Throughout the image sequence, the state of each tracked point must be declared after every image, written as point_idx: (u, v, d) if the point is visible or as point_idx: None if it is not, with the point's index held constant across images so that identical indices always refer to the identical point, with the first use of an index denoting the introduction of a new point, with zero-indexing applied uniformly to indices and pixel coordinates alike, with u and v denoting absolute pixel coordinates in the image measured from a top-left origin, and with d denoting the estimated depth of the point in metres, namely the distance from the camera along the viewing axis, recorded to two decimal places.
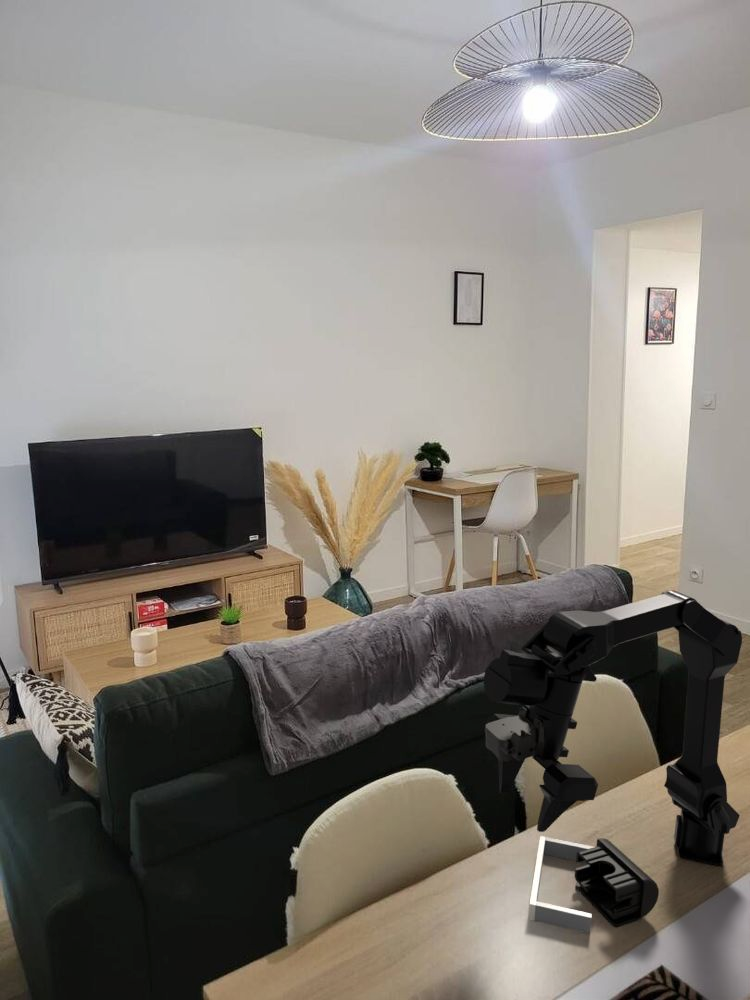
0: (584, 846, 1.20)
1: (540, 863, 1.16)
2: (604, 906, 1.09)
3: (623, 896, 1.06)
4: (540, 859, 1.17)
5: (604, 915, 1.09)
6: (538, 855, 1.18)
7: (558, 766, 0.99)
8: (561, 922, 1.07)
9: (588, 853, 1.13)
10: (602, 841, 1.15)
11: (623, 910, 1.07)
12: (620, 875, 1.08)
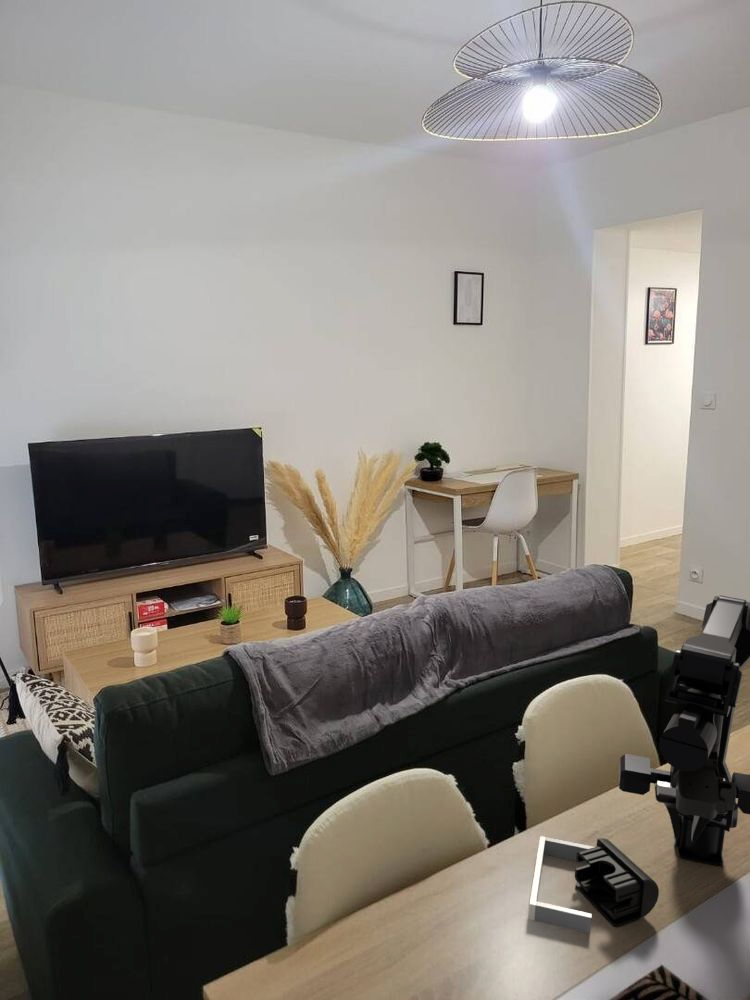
0: (584, 846, 1.20)
1: (540, 863, 1.16)
2: (604, 906, 1.09)
3: (623, 896, 1.06)
4: (540, 859, 1.17)
5: (604, 915, 1.09)
6: (538, 855, 1.18)
7: (743, 788, 1.02)
8: (561, 922, 1.07)
9: (588, 853, 1.13)
10: (602, 841, 1.15)
11: (623, 910, 1.07)
12: (620, 875, 1.08)
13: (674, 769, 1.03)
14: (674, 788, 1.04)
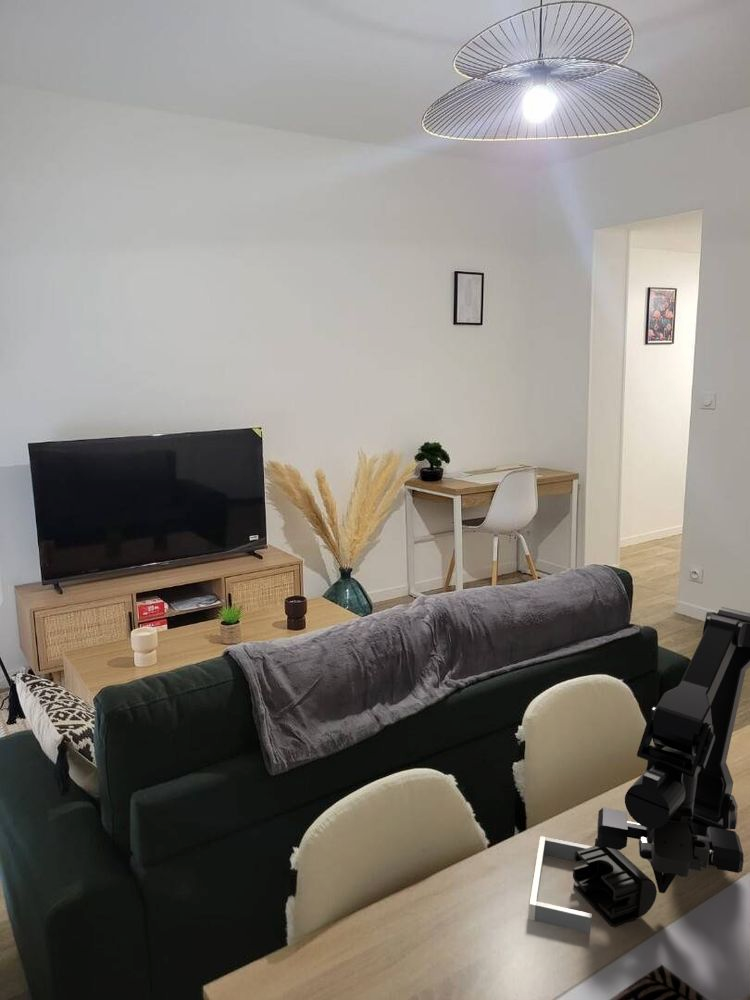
0: (584, 846, 1.20)
1: (540, 863, 1.16)
2: (602, 905, 1.09)
3: (620, 896, 1.06)
4: (540, 859, 1.17)
5: (602, 914, 1.09)
6: (538, 855, 1.18)
7: (717, 844, 1.04)
8: (561, 922, 1.07)
9: (586, 853, 1.13)
10: None
11: (621, 910, 1.07)
12: (618, 875, 1.08)
13: None
14: None
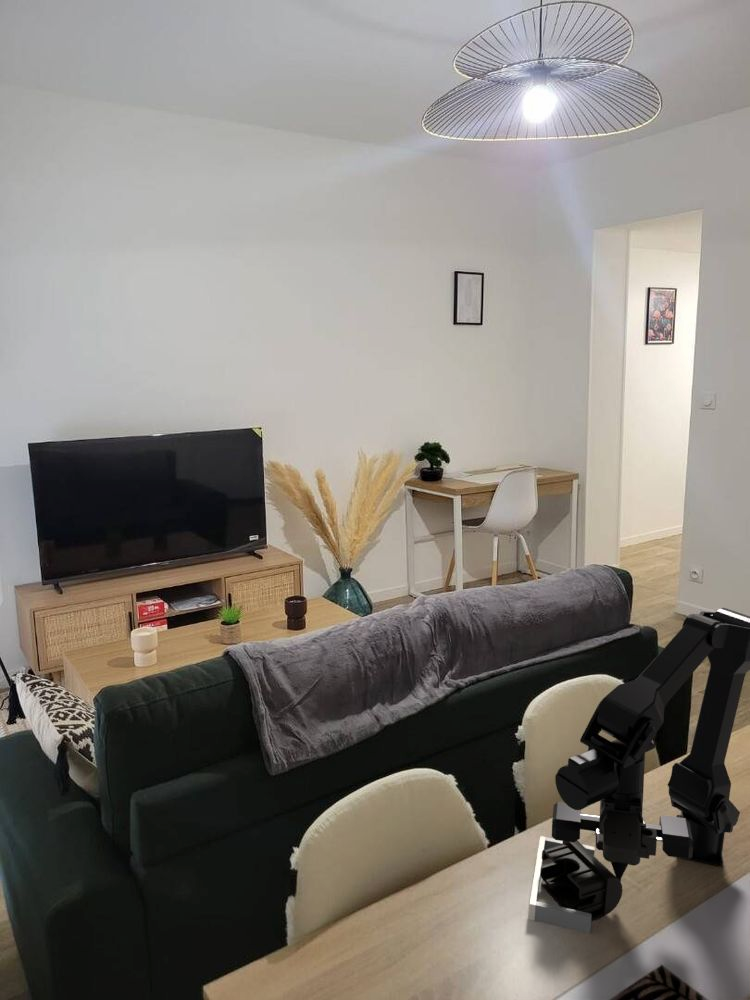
0: (584, 846, 1.20)
1: (540, 863, 1.16)
2: (568, 904, 1.09)
3: (586, 894, 1.06)
4: (540, 859, 1.17)
5: None
6: (538, 855, 1.18)
7: (667, 832, 1.06)
8: (561, 922, 1.07)
9: (553, 851, 1.13)
10: None
11: (586, 908, 1.07)
12: (584, 873, 1.09)
13: (601, 817, 1.07)
14: None
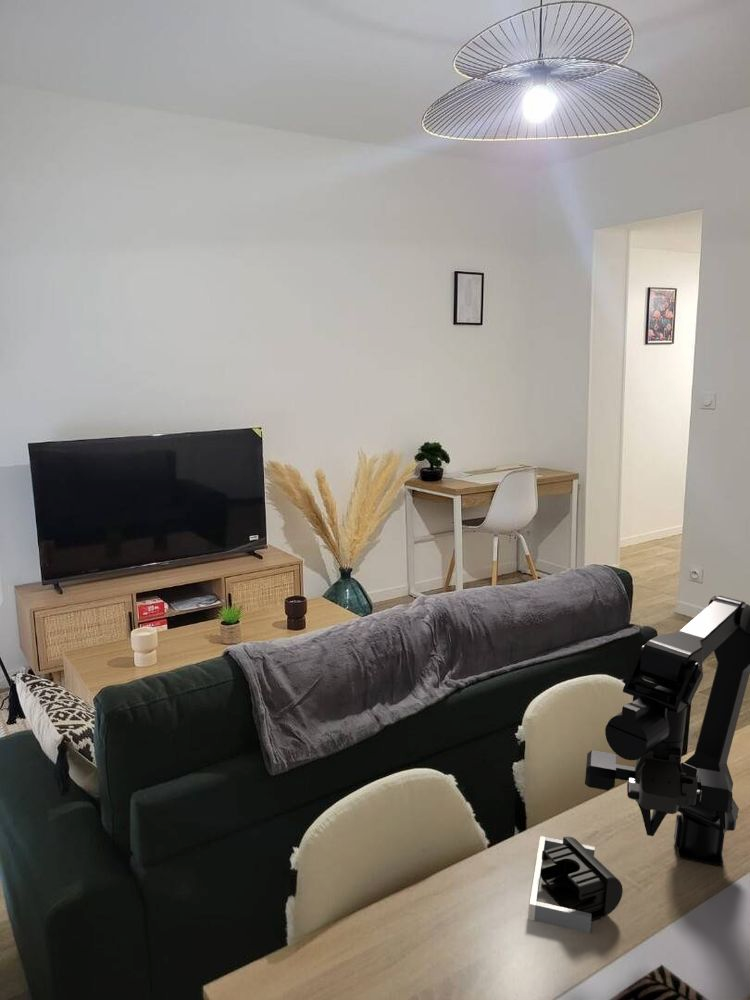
0: (584, 846, 1.20)
1: (540, 863, 1.16)
2: (568, 904, 1.09)
3: (586, 894, 1.06)
4: (540, 859, 1.17)
5: None
6: (538, 855, 1.18)
7: (706, 784, 1.03)
8: (561, 922, 1.07)
9: (553, 852, 1.13)
10: (568, 839, 1.15)
11: (586, 908, 1.07)
12: (584, 873, 1.09)
13: (638, 765, 1.04)
14: None
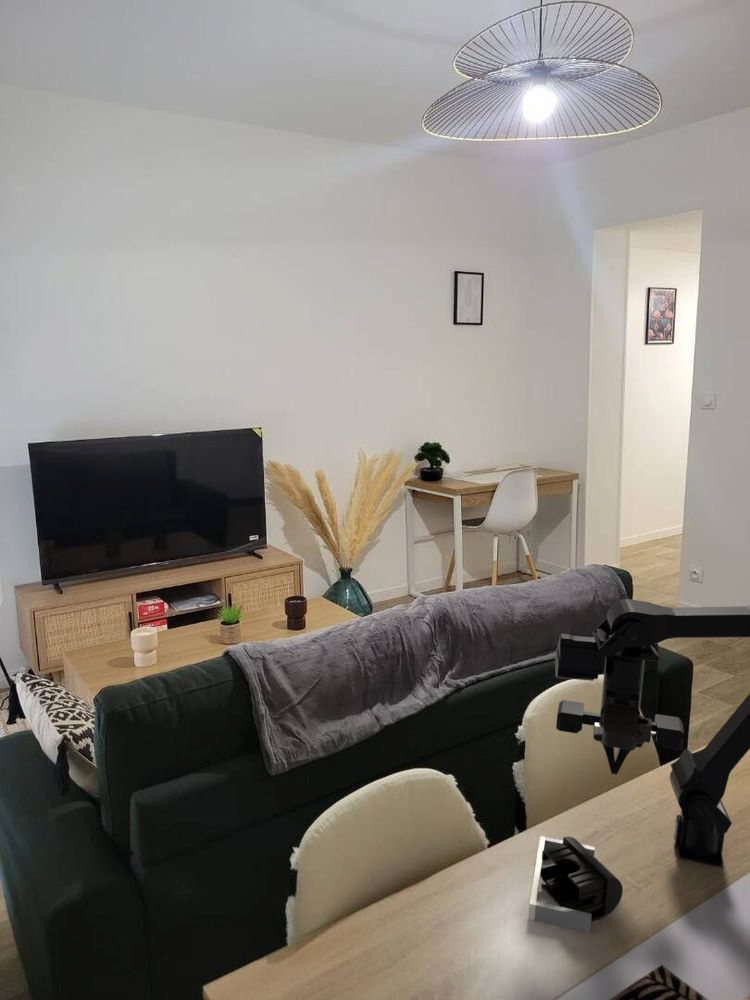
0: (584, 846, 1.20)
1: (540, 863, 1.16)
2: (568, 904, 1.09)
3: (586, 894, 1.06)
4: (540, 859, 1.17)
5: None
6: (538, 855, 1.18)
7: (661, 726, 1.18)
8: (561, 922, 1.07)
9: (553, 852, 1.13)
10: (568, 839, 1.15)
11: (586, 908, 1.07)
12: (584, 873, 1.09)
13: (602, 710, 1.18)
14: None
